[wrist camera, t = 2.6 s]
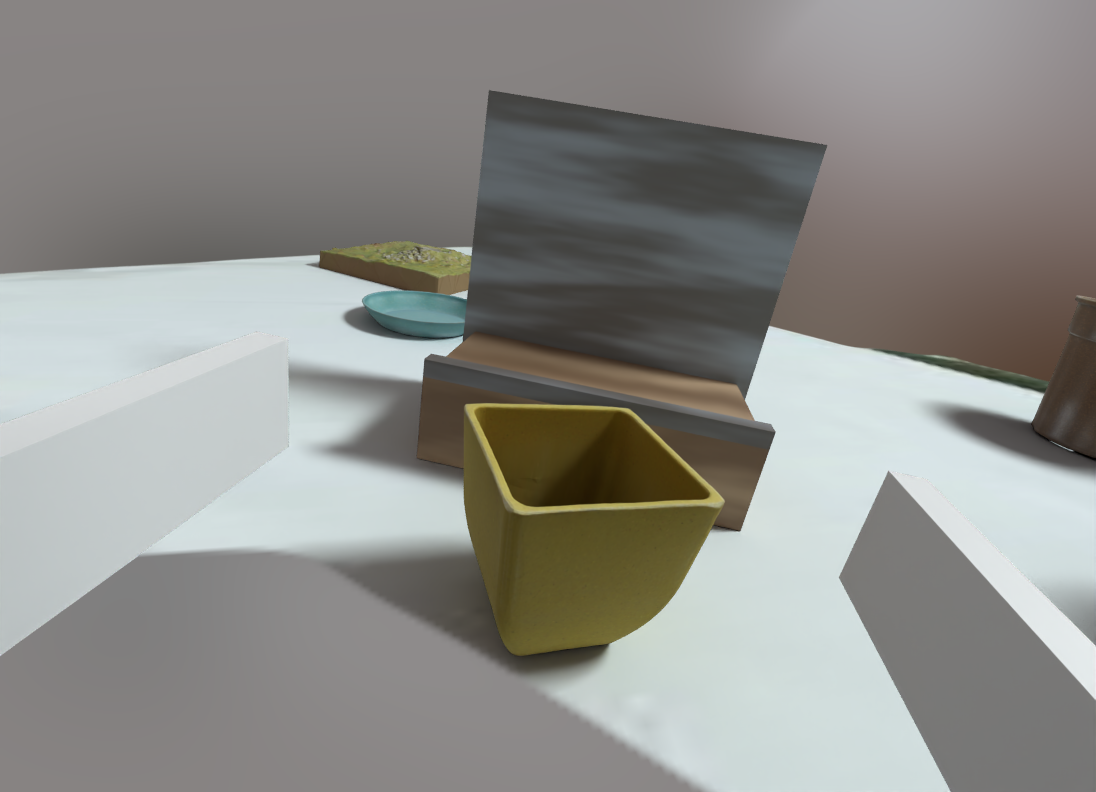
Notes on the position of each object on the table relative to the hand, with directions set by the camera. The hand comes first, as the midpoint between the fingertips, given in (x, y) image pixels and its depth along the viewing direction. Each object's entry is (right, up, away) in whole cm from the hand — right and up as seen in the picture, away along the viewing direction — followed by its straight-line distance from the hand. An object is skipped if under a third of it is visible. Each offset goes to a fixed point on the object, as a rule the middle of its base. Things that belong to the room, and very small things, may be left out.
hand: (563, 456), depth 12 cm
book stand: (+2, -3, +31) cm, 31 cm away
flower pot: (0, -9, +14) cm, 17 cm away
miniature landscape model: (-22, +21, +81) cm, 87 cm away
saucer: (-15, +10, +55) cm, 58 cm away
